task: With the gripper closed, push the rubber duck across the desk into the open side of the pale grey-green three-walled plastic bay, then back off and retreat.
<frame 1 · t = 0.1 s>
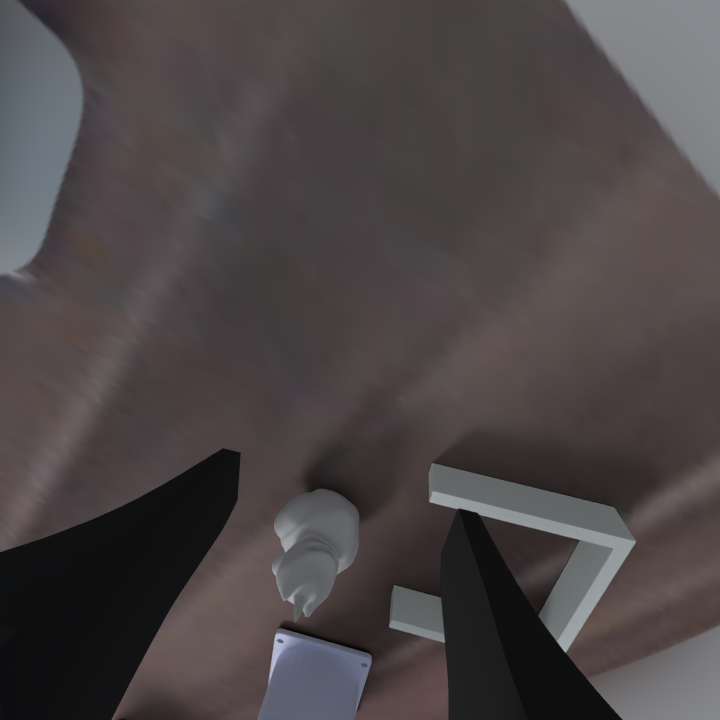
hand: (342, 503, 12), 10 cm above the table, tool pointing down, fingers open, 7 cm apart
bay: (484, 552, 25), on the table
rubber duck: (324, 508, 26), on the table
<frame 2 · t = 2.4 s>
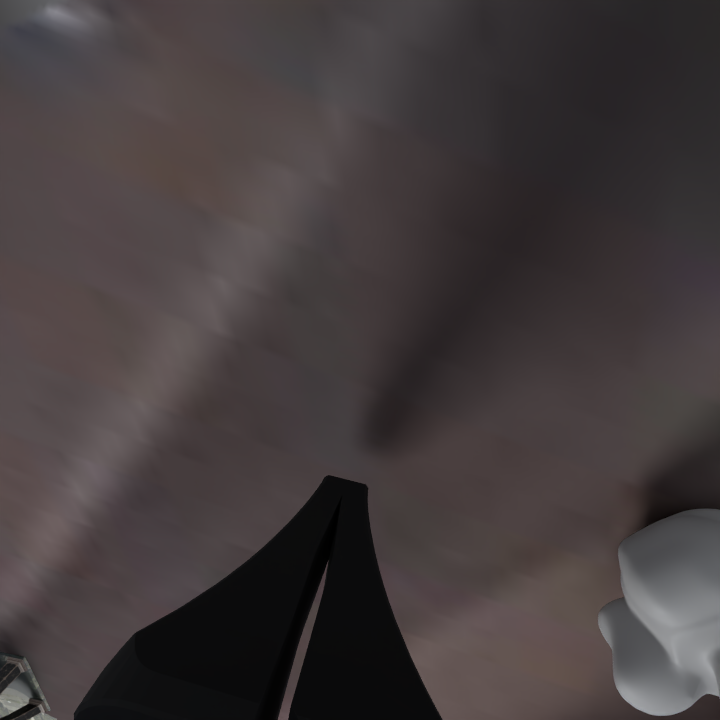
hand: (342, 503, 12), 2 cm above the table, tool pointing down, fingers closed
eiffel tower figurine: (7, 664, 24), on the table
rubber duck: (660, 544, 13), on the table
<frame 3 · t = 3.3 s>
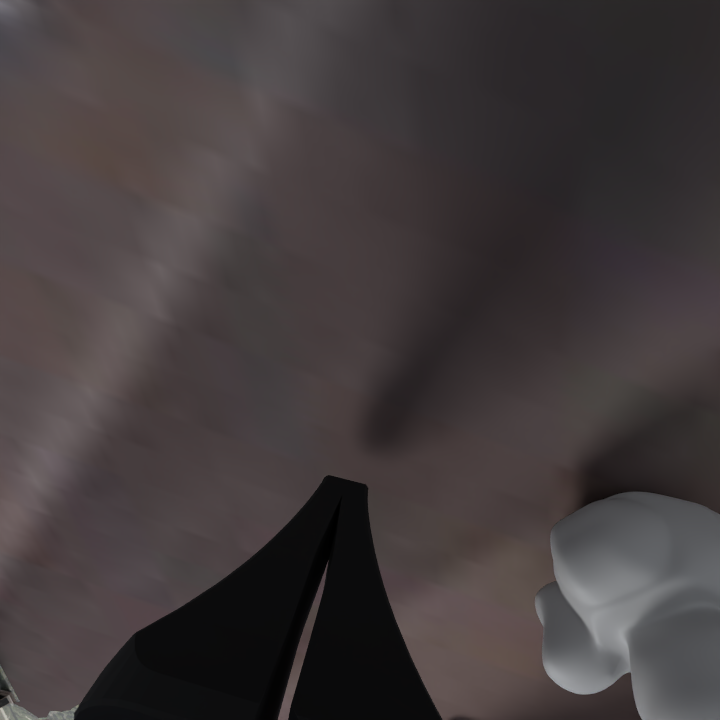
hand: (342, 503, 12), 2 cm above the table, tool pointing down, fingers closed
rubber duck: (599, 529, 13), on the table
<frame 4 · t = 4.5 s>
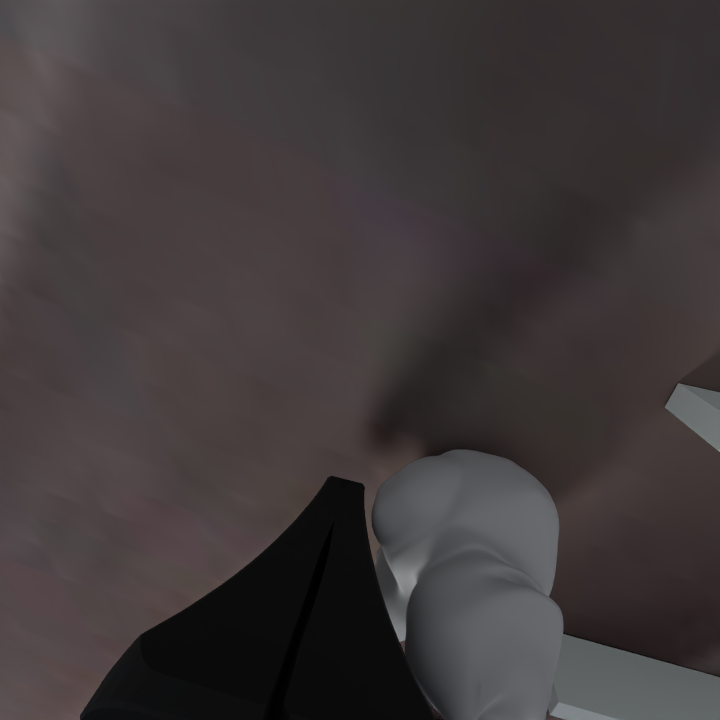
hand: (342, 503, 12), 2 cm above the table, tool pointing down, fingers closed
rubber duck: (446, 492, 14), on the table, touching gripper
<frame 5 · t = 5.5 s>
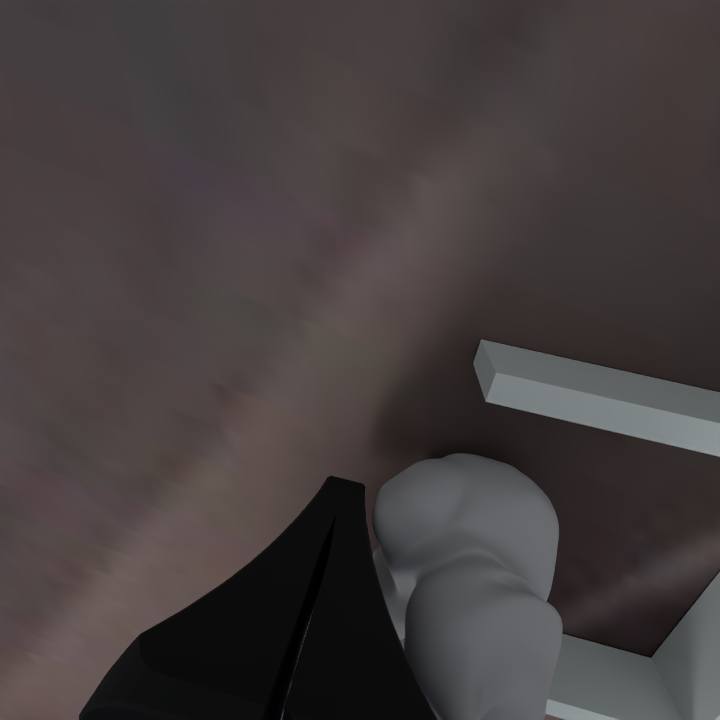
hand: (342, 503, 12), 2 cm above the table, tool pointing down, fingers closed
bay: (572, 528, 13), on the table
rubber duck: (444, 494, 14), on the table, touching gripper
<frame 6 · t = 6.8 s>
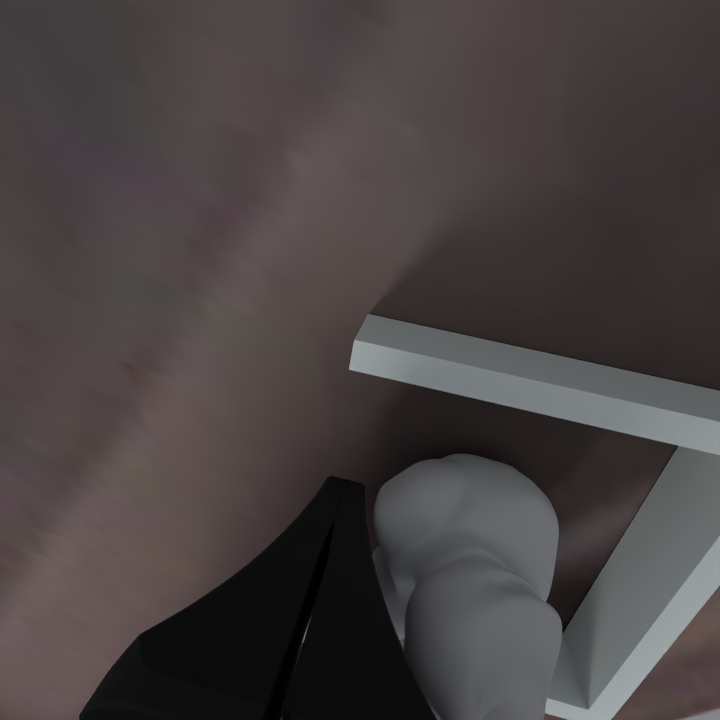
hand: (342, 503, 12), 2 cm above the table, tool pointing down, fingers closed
bay: (475, 503, 13), on the table
rubber duck: (444, 494, 14), on the table, touching gripper
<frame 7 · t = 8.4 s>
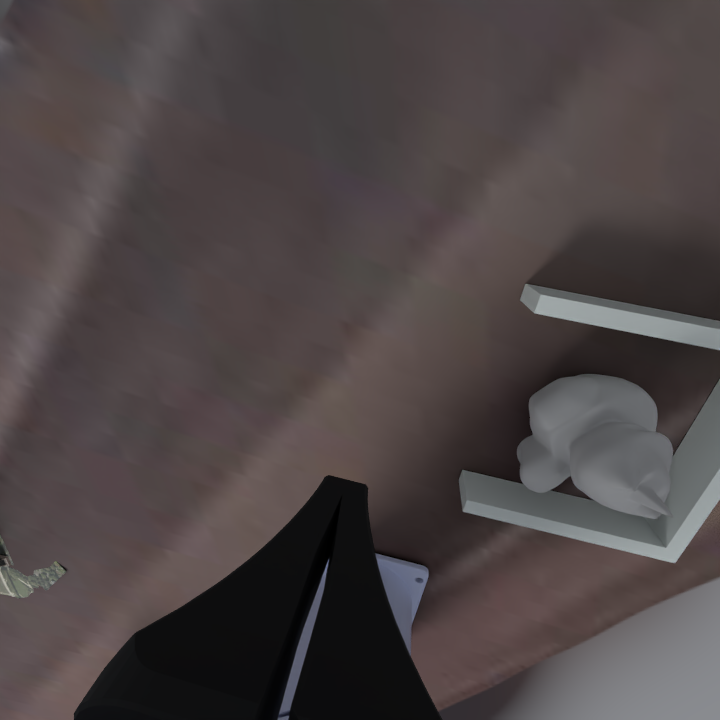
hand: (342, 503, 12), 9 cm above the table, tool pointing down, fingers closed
bay: (584, 414, 20), on the table
rubber duck: (561, 409, 20), on the table
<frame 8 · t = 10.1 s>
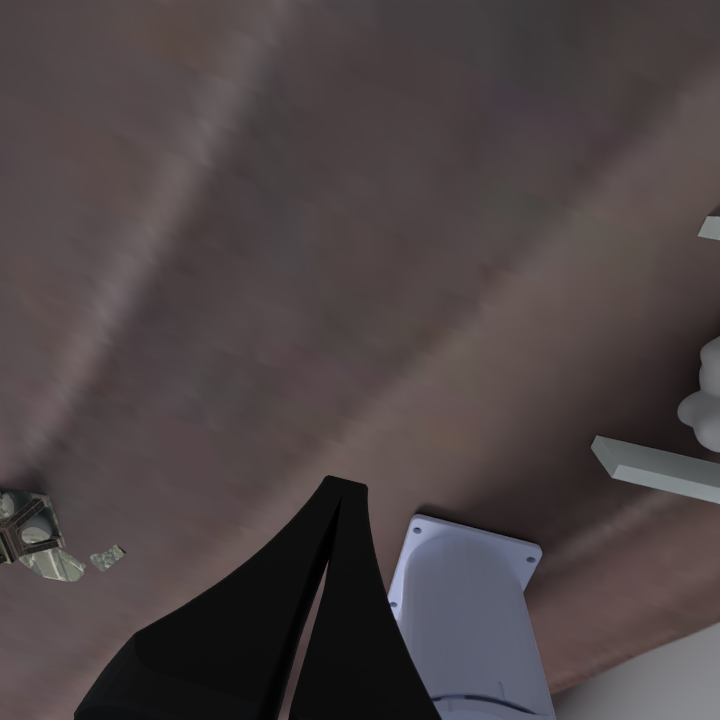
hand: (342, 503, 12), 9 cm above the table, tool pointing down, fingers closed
eiffel tower figurine: (32, 511, 31), on the table
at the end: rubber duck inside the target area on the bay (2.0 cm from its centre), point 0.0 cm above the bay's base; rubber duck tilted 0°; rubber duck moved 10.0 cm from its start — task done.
